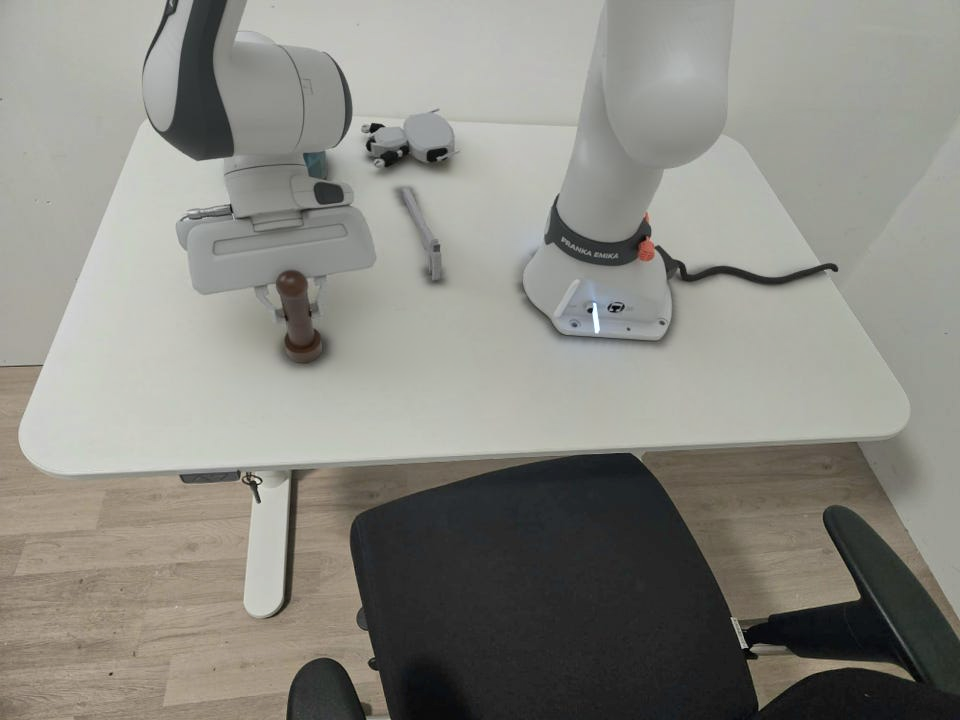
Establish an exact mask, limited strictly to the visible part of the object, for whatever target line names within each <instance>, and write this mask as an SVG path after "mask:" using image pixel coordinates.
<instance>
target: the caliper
mask: <svg viewBox="0 0 960 720" xmlns="http://www.w3.org/2000/svg"><path fill="white" fill-rule="evenodd" d="M400 190H401V193H402V198H403V200H404V202H405V204H406V206H407V208H408V210H409V213H410V215H411V217H412V219H413V222H414V224H415V226H416V228H417V230H418V232H419V235H420V237H421V244H422V246H423V248H424V250H425V251H426V252H427V261H428V262H427V263H428V272H429V275H431V281H439V280H441V272H442V252H441V243H439V239H438V238H435V237H434V235H433V232H432V231H431V228H430V227H429V226H428V225H427V223H426V221H425V218H424V216H423V214H422V213H421V211H420V208H419V206H418V204H417V202H416V200H415V198H414V195H413V193H412V191H411V189H410V188H409V187H402V188H400Z"/></svg>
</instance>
